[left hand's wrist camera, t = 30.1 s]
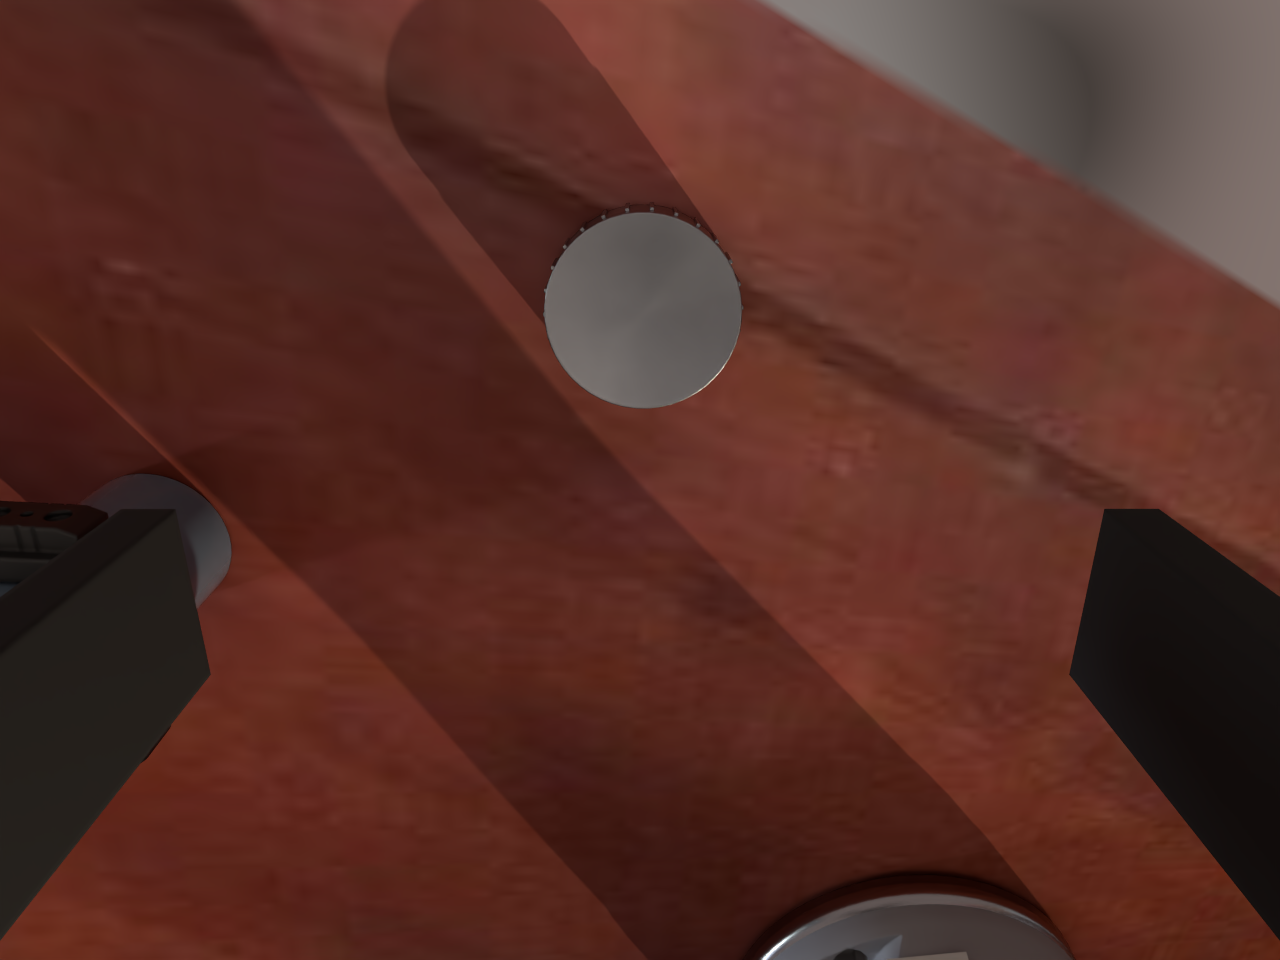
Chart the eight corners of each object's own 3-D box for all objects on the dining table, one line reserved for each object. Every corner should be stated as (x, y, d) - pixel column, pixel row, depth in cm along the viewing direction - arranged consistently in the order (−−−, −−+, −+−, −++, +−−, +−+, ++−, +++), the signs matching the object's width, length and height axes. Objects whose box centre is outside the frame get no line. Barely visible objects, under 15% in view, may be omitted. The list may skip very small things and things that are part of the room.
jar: (242, 498, 30) (-118, 853, 16) (221, 617, 31) (-117, 1032, 17) (91, 454, 29) (-426, 783, 15) (79, 579, 31) (-391, 976, 17)
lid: (766, 239, 26) (775, 249, 24) (698, 414, 28) (702, 436, 27) (580, 173, 25) (576, 178, 24) (526, 358, 28) (517, 376, 26)
